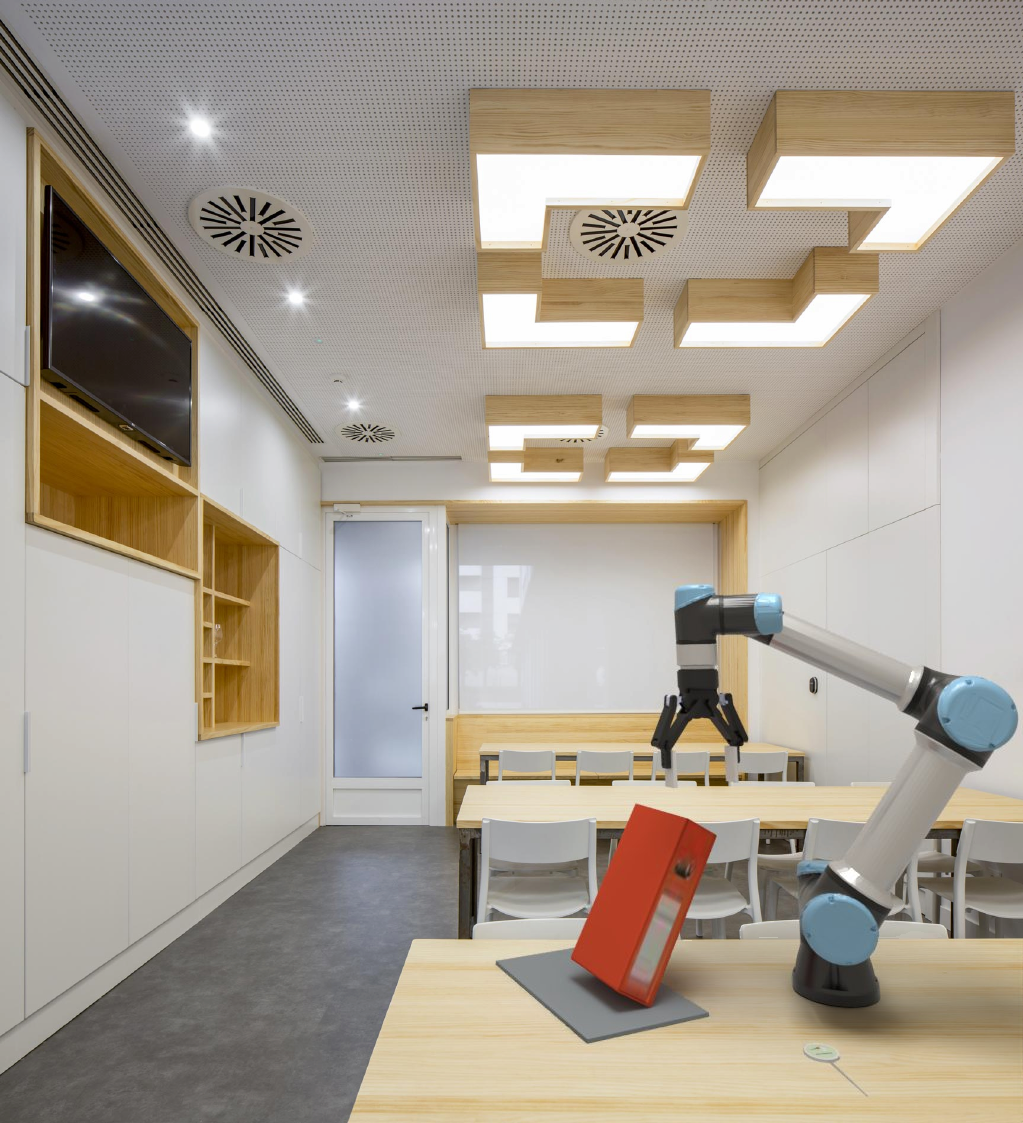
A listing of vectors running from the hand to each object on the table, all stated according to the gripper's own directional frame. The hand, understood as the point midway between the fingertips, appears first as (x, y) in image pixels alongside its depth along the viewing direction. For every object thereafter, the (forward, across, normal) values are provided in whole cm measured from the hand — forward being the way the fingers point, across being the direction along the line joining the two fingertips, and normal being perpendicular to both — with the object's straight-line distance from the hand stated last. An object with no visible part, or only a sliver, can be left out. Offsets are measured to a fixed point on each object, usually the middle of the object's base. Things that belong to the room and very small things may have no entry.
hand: (702, 784), depth 149 cm
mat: (+38, +15, -16) cm, 44 cm away
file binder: (+36, +15, -11) cm, 40 cm away
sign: (+39, -3, +26) cm, 47 cm away
